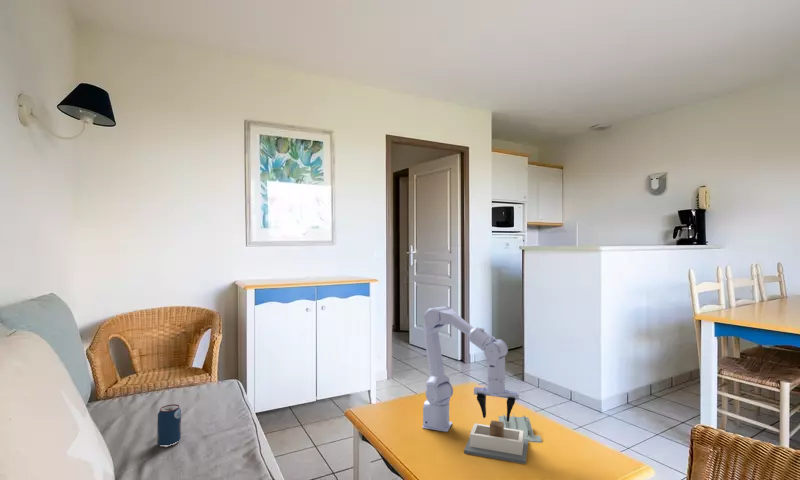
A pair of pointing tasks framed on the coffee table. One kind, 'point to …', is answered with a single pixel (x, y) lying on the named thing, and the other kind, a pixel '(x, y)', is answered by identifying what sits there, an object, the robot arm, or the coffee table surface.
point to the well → (497, 444)
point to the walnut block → (497, 429)
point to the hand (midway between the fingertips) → (496, 418)
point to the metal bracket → (520, 426)
